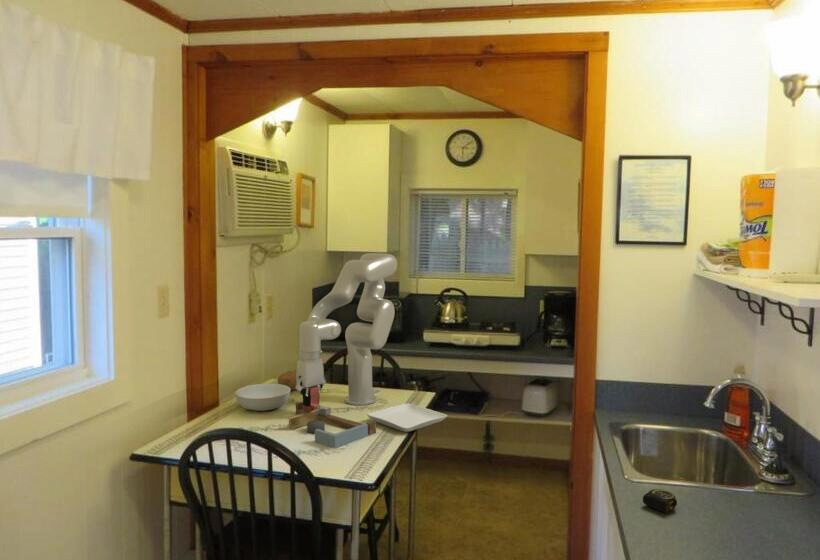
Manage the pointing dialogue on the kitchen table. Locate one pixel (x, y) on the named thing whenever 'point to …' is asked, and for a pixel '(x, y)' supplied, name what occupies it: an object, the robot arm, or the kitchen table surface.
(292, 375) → the potato
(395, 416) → the salad plate
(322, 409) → the toy block assembly
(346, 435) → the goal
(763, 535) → the kitchen table surface
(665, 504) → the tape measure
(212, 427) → the kitchen table surface
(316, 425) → the puck
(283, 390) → the serving bowl
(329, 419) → the rail
